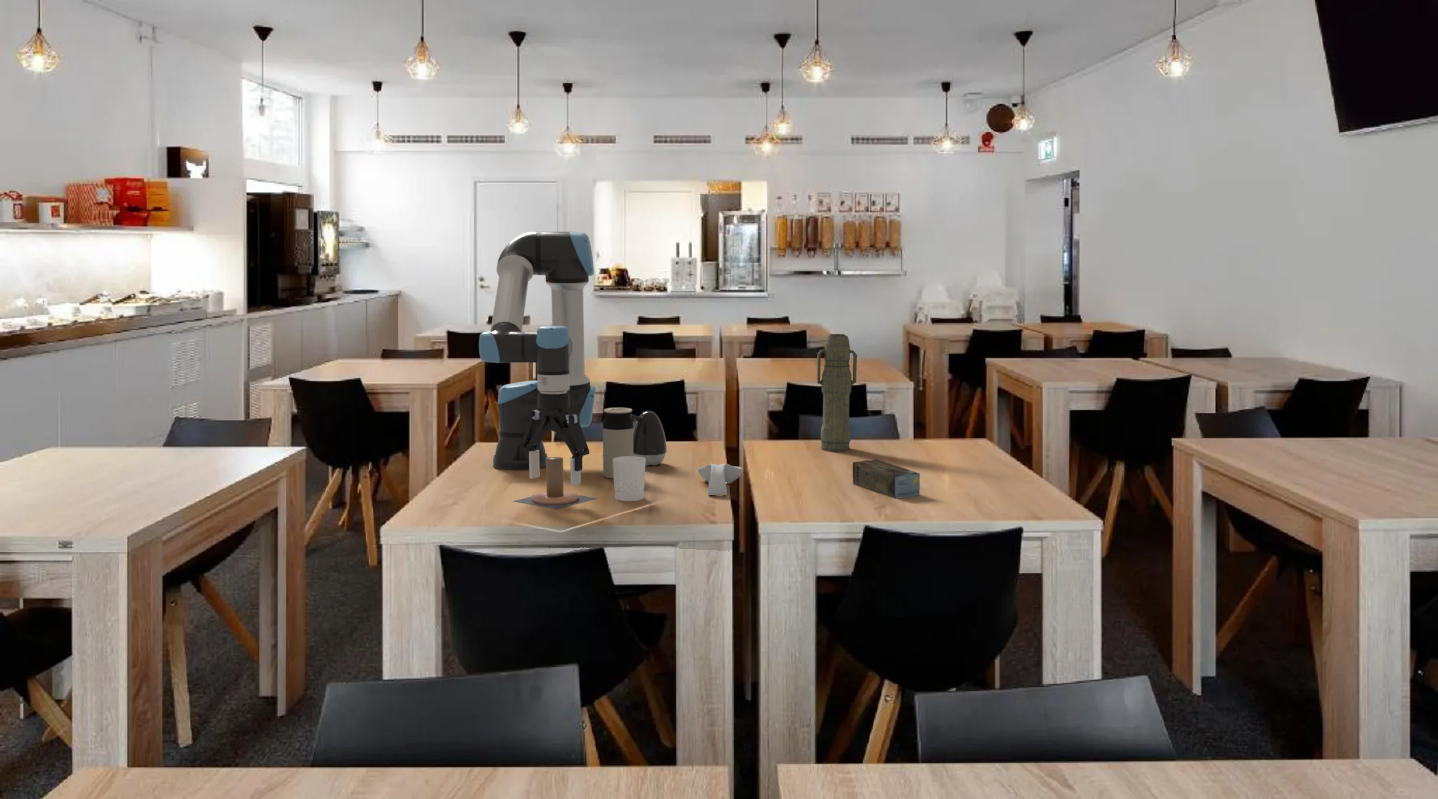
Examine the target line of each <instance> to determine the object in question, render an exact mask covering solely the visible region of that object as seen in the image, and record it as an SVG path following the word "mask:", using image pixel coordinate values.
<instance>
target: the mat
mask: <svg viewBox="0 0 1438 799" xmlns="http://www.w3.org/2000/svg"><path fill="white" fill-rule="evenodd" d="M592 500H597V498H596V497H592V496H585V495H582V494H581V495H579V494H578V501H576V502H573V503H569V504H562V505H543V504H537V503H534V502H532V496H528V497H525V498H520V499H517V500H516V499H515V500H513V501H512V502H514V503H520V504H524V505H530V506H536V507H541V508H546V509H547V508H548V509H552V510H560V509H564V508H567V507H570V506H575V505H578V504H582V503H586V502H588V501H592Z"/></svg>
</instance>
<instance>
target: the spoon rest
mask: <svg viewBox="0 0 1438 799" xmlns="http://www.w3.org/2000/svg"><path fill="white" fill-rule="evenodd" d="M743 471H744V469H743V467H740V466H733V465H731V464H728V463H721V464H714V463H709V464H707V465H704V466H701V467H698V468H697V472H698V474H699V475H700V477H701V478H702V479H704V480H705V481H707V483H708V482H709V483H708V488H707V496H708V495H728V492H727V485H730V484H732V483H733V482H735V481H736V480H737V479H739V477H740V476H741V475H742V473H743ZM728 481H729V484H728ZM725 482H727V484H726V483H725Z"/></svg>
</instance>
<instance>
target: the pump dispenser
mask: <svg viewBox="0 0 1438 799" xmlns="http://www.w3.org/2000/svg"><path fill="white" fill-rule="evenodd" d="M630 417H631V419H632V420H633V421H635V425H634V426H633V456H636V457H643V458H645V459H646V461H645V465H646V466H645V467H648V466H647V465H655V466H657V465H659V464H661V463H662V462H663V461H664V459H665V457H666V454H667V451H668V449H667V448H668V447H667V441H666V440H667V439H666V435H665V431H664V427H663V424H662V422H661V419H660V418H659V416H658V415H657V414H656V412H653V411H651V410H646V411H643V412H642V413H640V415H639V416H638V415H635V414H631V416H630Z"/></svg>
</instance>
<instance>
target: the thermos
mask: <svg viewBox="0 0 1438 799" xmlns="http://www.w3.org/2000/svg"><path fill="white" fill-rule="evenodd" d="M816 354H817V357H816V358H817V360H816V373H817V374H816V382H817V384H819V385H821V393H822V395H823V396H822V402H823V403H822V425H821V429H820V441H821V447H820V449H821V450H822V451H825V452H837V453H838V452H847V451H850V443H851V428H850V423H849V422H850V395H851V392H852V386H853V385H854V384H856V383H857V368H858V367H857V363H858V361H857V360H858V359H857V358H858V354H857V353H856V352H855V351H854V349H853V350H852V349H851V344H850V340H849V337H848V335H846V334H844V333H831V334H829V335H827V337H826V339H825V343H824V348H822V349H820V350H819V352H817V353H816ZM822 354H824V359H823V360H824V366H823V367H824V368H823V370H822V371H823V372H822V373H821V355H822ZM850 354H851V355H852V356H853V357H852V360H853V361H852V372H851V370H850V369H851V367H850V361H851V358H850V357H851V355H850Z"/></svg>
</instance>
